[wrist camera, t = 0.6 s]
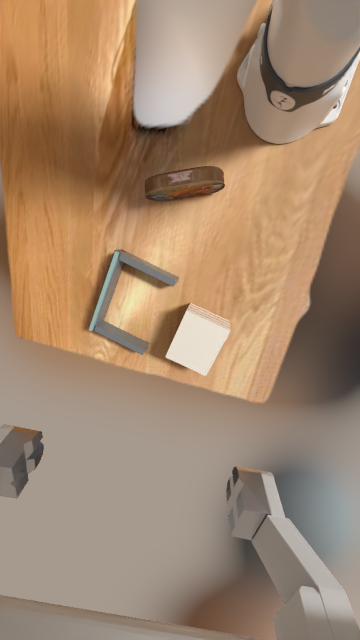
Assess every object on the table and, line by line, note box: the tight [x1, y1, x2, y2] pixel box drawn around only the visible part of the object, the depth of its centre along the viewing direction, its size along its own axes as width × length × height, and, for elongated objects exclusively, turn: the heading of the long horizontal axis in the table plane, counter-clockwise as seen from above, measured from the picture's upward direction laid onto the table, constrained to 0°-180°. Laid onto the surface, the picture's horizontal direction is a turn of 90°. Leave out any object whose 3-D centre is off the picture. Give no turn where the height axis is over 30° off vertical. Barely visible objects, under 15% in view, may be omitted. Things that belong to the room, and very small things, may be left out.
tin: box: [145, 166, 225, 201], centre depth 46 cm, size 15×3×8 cm, turn 96°
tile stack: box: [166, 303, 230, 376], centre depth 56 cm, size 12×10×7 cm
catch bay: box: [89, 250, 179, 355], centre depth 57 cm, size 20×14×5 cm
